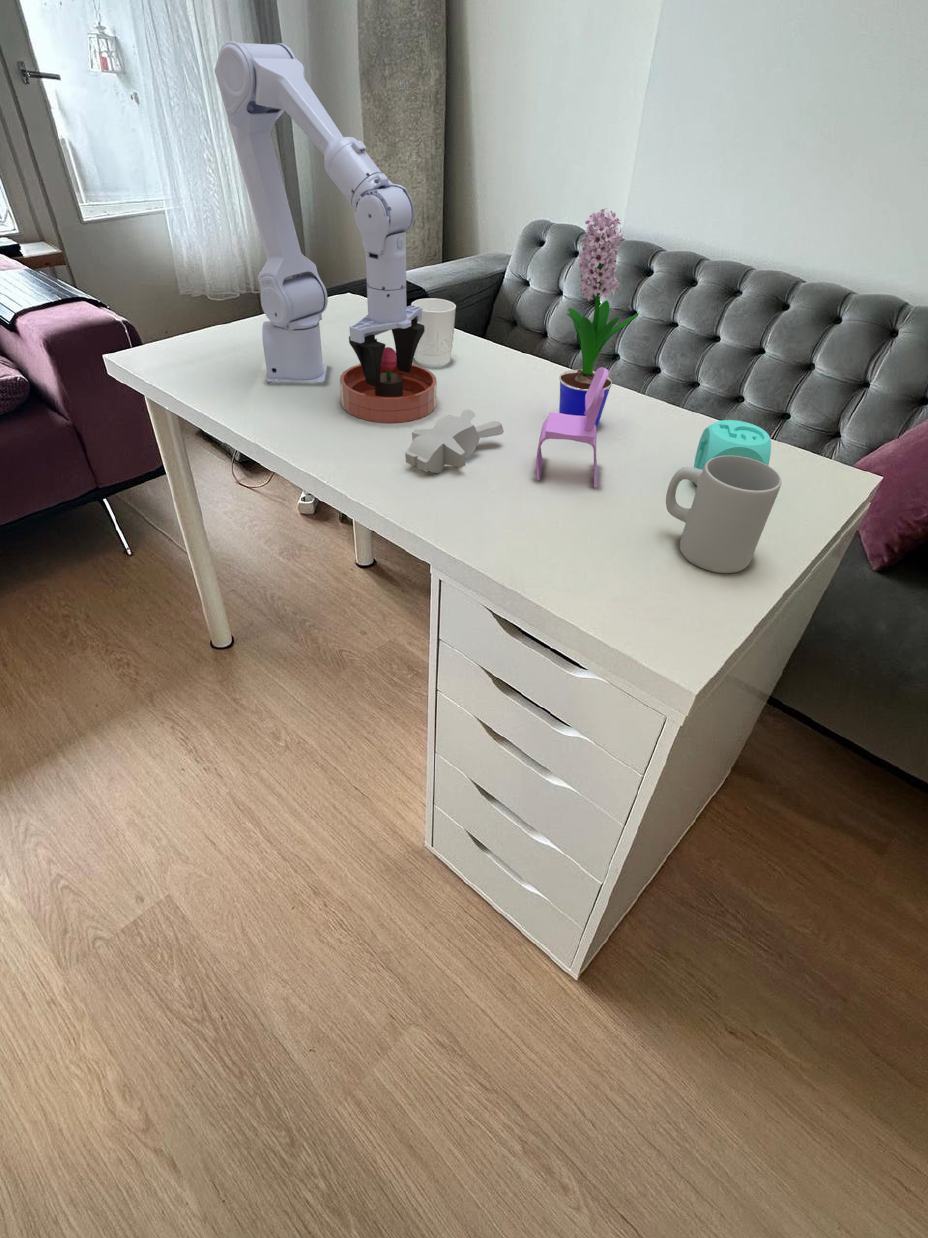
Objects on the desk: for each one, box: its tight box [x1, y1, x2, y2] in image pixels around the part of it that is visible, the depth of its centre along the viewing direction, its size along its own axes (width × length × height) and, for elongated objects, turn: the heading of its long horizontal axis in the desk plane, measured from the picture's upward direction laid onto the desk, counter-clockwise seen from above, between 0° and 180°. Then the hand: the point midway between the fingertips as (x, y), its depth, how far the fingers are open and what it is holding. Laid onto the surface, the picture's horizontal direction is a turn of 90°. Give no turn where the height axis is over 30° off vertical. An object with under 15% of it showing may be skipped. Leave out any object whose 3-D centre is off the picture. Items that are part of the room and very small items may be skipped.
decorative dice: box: [693, 419, 772, 470], centre depth 93 cm, size 8×8×8 cm
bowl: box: [339, 363, 438, 424], centre depth 108 cm, size 15×15×4 cm
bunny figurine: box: [404, 409, 505, 474], centre depth 96 cm, size 10×5×15 cm
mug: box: [665, 456, 782, 574], centre depth 79 cm, size 12×8×11 cm
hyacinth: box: [558, 207, 640, 430], centre depth 98 cm, size 9×10×30 cm
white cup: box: [410, 297, 457, 367], centre depth 122 cm, size 8×8×10 cm
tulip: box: [375, 346, 403, 397], centre depth 106 cm, size 4×4×9 cm
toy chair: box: [535, 366, 610, 489], centre depth 90 cm, size 8×9×15 cm
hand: (388, 377), depth 106 cm, fingers open, 7 cm apart
